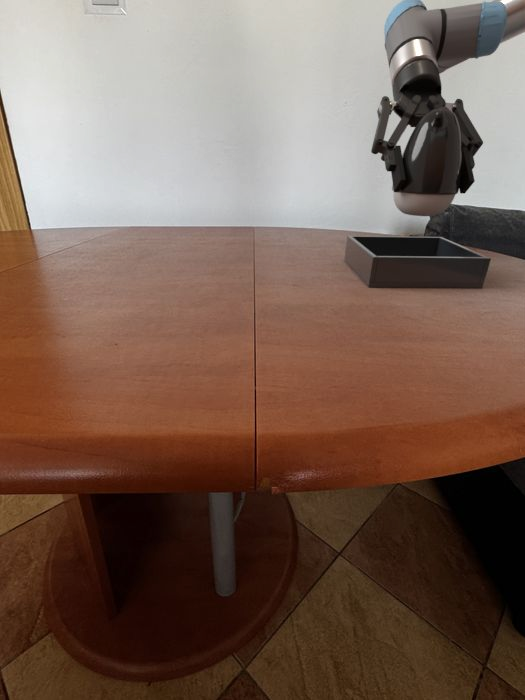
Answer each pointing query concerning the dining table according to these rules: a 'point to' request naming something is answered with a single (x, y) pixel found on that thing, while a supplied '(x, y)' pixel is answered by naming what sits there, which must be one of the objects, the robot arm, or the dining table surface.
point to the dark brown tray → (415, 262)
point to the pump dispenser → (431, 165)
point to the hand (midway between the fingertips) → (433, 186)
